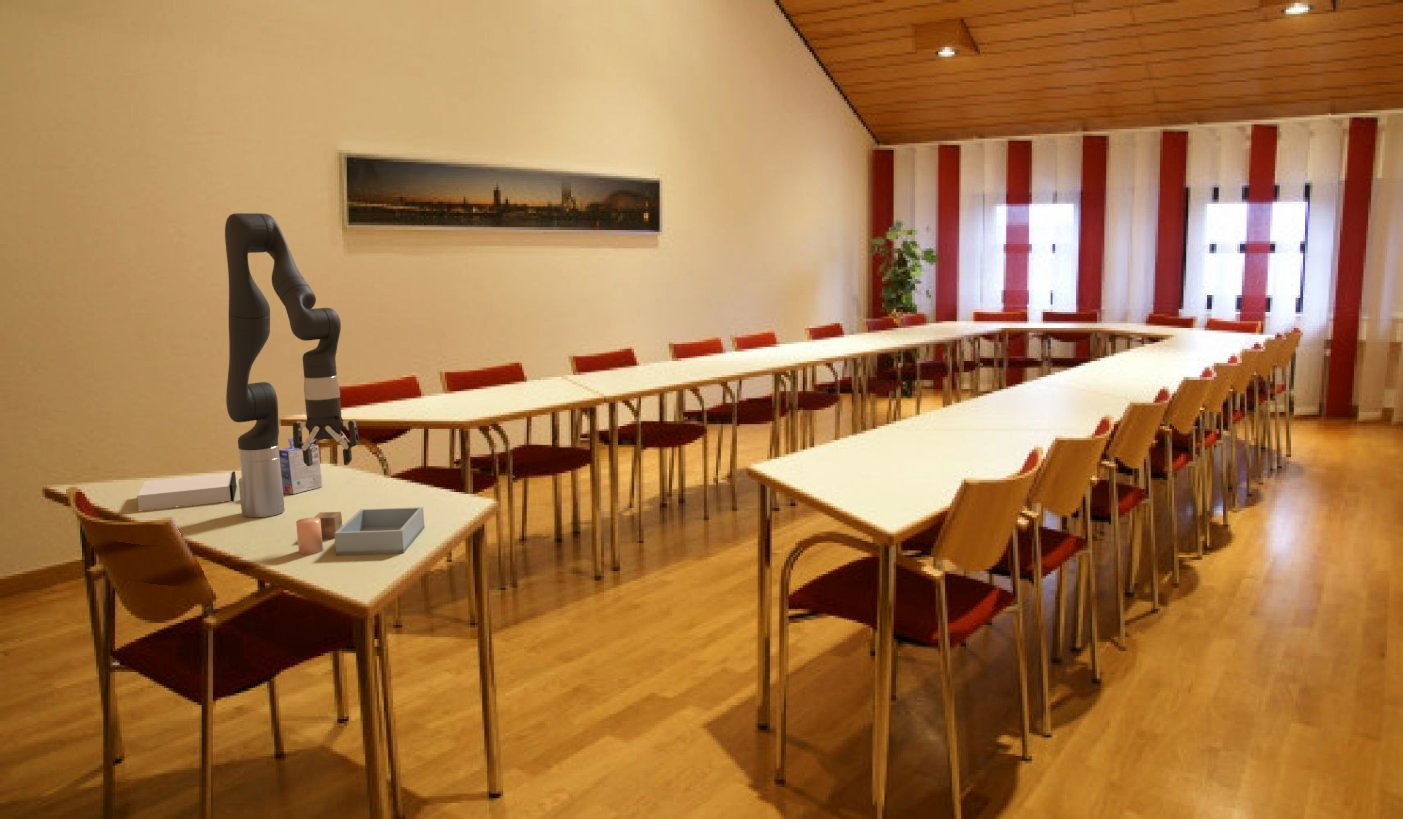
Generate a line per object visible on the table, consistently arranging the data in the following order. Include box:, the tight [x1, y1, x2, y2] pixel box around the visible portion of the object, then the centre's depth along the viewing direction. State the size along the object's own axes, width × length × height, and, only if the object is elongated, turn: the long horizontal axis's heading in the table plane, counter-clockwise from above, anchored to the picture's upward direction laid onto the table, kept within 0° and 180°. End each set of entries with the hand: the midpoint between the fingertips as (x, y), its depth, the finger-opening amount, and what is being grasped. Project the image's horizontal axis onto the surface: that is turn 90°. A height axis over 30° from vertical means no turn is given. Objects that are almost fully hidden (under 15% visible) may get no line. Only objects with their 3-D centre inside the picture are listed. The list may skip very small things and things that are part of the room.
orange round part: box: [295, 517, 324, 556], centre depth 222 cm, size 5×5×7 cm
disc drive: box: [136, 470, 238, 511], centre depth 272 cm, size 18×22×5 cm
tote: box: [334, 506, 425, 556], centre depth 229 cm, size 15×20×5 cm
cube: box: [312, 511, 343, 540], centre depth 234 cm, size 5×5×5 cm
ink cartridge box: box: [279, 438, 323, 495], centre depth 278 cm, size 10×6×14 cm, turn 148°
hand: (328, 465), depth 233 cm, fingers open, 8 cm apart
